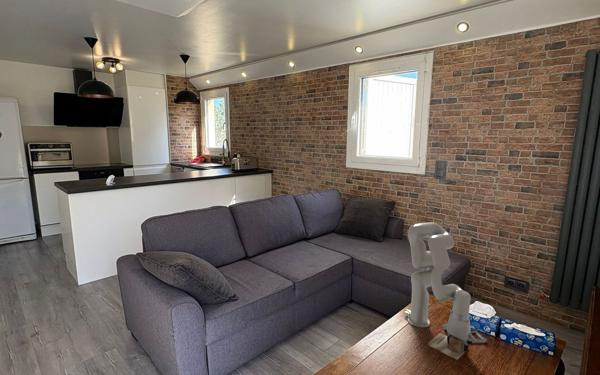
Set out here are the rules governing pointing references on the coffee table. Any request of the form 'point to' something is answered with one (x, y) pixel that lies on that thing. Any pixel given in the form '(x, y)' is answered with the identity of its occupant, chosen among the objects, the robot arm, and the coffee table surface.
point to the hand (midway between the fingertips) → (457, 346)
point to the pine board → (443, 346)
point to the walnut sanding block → (456, 345)
